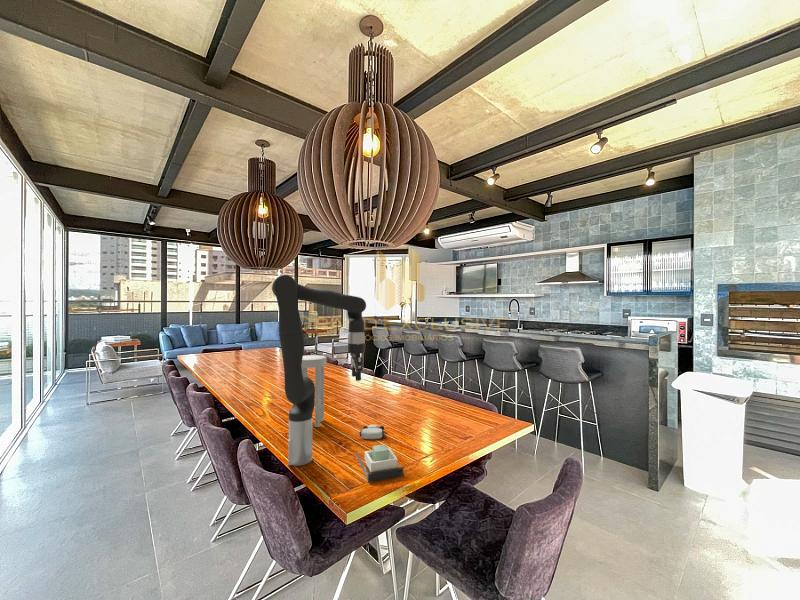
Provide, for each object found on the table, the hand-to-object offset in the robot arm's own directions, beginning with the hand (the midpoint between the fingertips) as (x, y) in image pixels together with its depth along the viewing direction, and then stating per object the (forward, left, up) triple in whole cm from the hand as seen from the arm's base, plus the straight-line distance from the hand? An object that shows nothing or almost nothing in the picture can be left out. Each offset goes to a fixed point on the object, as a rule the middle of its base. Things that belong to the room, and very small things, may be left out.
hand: (356, 378), depth 148 cm
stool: (-17, +35, -30) cm, 49 cm away
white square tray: (+4, -26, -29) cm, 39 cm away
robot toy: (+10, +8, -30) cm, 33 cm away
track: (+4, -22, -30) cm, 37 cm away
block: (+4, -26, -26) cm, 37 cm away
